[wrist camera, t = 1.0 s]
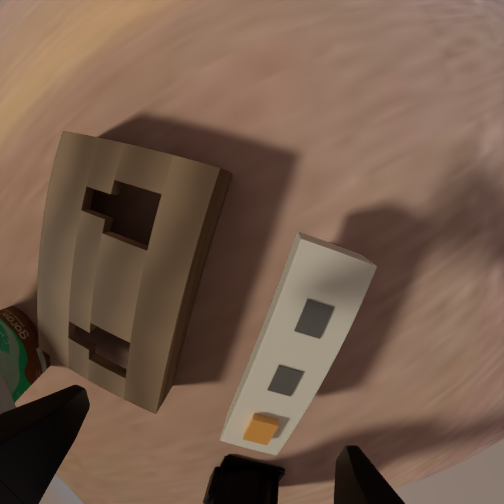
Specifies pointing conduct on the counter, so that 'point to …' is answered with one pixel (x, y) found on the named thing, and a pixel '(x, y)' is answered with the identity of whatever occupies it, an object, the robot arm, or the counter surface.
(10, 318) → the food container
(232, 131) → the counter surface
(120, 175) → the keyhole board
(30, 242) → the counter surface
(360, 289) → the power strip
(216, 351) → the counter surface
